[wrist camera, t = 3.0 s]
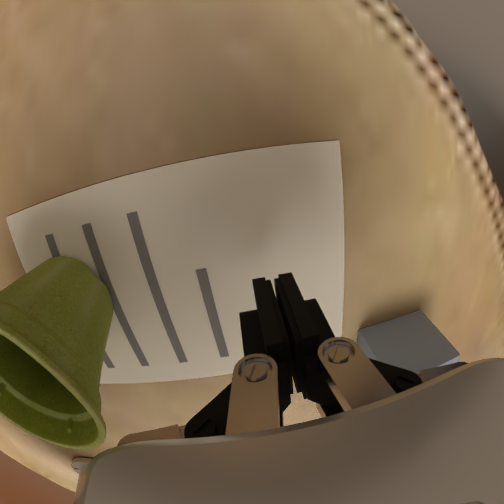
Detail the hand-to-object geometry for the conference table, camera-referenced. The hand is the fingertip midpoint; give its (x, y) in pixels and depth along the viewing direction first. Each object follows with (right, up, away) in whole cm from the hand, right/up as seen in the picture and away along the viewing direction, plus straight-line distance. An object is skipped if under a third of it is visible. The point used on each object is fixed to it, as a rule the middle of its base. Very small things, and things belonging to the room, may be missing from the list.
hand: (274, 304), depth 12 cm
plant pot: (-13, -1, +4) cm, 13 cm away
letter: (-6, 0, +5) cm, 7 cm away
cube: (+10, -6, +9) cm, 15 cm away
